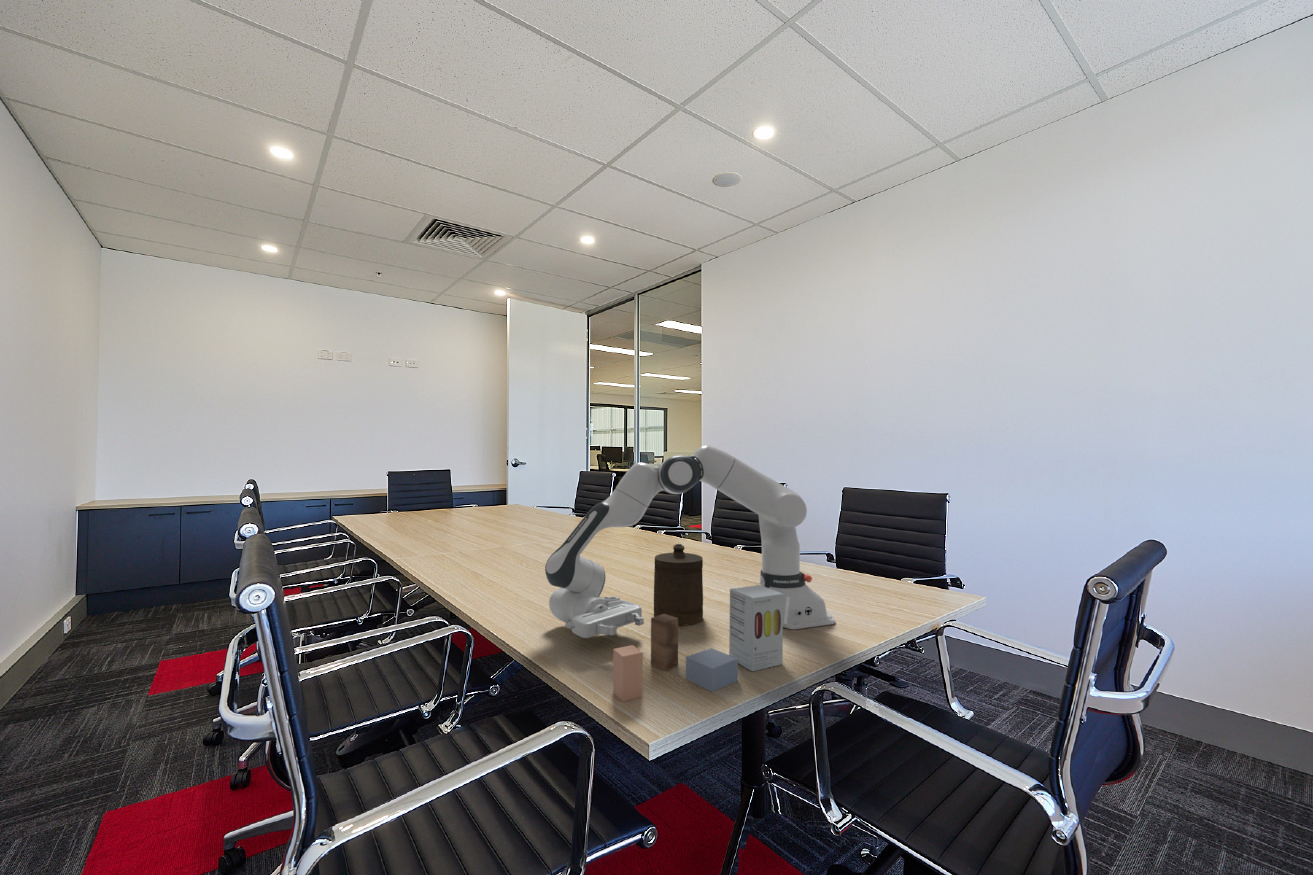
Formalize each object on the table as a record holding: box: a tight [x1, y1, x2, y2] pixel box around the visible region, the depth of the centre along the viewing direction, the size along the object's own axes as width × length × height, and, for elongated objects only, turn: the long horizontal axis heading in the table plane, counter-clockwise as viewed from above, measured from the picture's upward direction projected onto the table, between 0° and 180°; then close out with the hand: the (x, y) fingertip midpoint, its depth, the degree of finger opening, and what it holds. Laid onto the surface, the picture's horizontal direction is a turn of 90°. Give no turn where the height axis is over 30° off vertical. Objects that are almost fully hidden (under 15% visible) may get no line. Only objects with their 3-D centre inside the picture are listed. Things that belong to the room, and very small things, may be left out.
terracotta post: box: [612, 644, 644, 702], centre depth 106 cm, size 4×4×9 cm
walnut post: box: [650, 614, 679, 672], centre depth 121 cm, size 4×4×11 cm
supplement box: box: [728, 584, 784, 672], centre depth 123 cm, size 10×9×17 cm
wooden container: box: [653, 543, 704, 627], centre depth 155 cm, size 15×15×22 cm
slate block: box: [685, 647, 739, 693], centre depth 113 cm, size 8×8×5 cm
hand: (628, 626), depth 129 cm, fingers open, 8 cm apart
